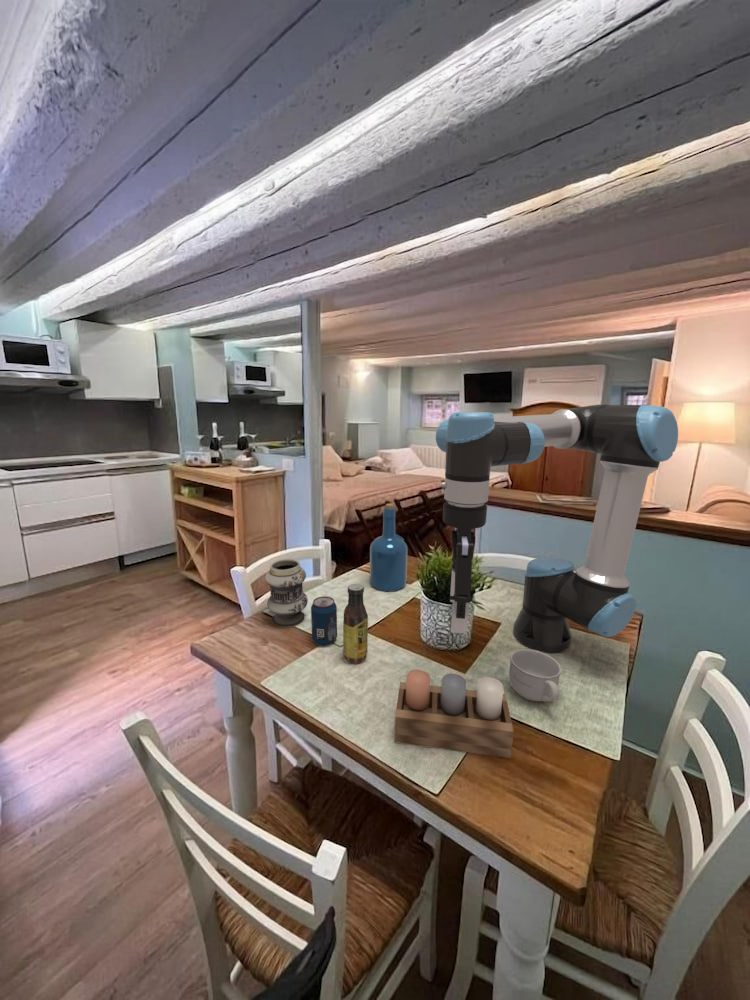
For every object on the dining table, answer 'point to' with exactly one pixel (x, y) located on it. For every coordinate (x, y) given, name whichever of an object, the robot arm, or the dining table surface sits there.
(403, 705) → the wooden compartment box
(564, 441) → the robot arm
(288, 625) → the apothecary jar
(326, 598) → the soda can
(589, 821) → the dining table surface
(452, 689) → the grey rounded cylinder
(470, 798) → the dining table surface
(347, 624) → the sauce bottle
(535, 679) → the teacup
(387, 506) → the wine bottle
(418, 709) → the peach egg
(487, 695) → the white egg
